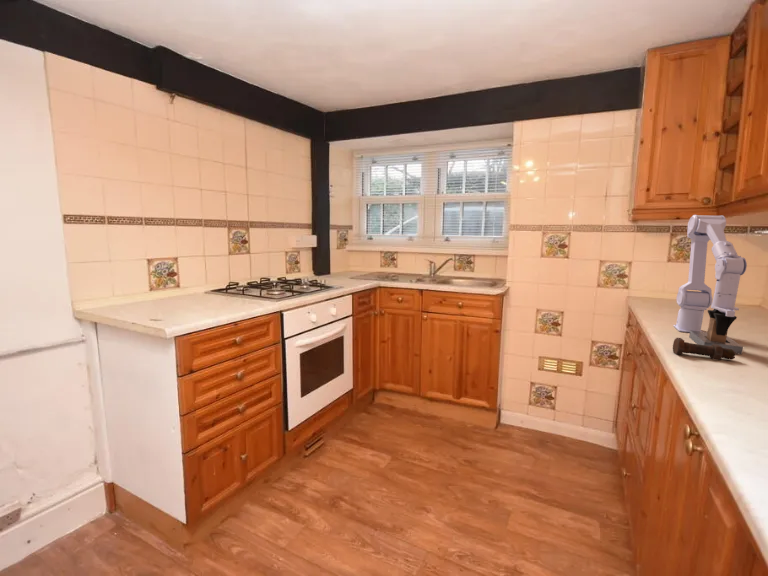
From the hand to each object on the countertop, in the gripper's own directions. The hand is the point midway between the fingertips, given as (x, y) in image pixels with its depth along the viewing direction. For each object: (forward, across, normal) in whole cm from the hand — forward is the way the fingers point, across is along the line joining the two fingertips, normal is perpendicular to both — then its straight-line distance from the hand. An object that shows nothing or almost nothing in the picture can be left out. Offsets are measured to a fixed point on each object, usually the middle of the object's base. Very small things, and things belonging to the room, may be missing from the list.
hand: (718, 333), depth 134 cm
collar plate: (+5, +2, 0) cm, 5 cm away
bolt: (+5, -16, +8) cm, 18 cm away
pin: (+3, 0, 0) cm, 3 cm away
